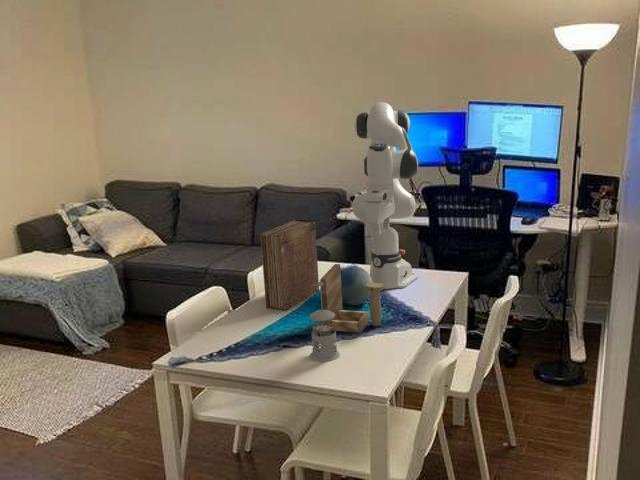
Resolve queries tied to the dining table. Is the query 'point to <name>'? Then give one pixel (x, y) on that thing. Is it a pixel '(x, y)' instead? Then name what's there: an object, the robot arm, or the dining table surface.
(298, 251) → the book
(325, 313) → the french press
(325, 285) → the cleat board
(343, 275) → the decorative ball
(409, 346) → the dining table surface
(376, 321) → the handle
